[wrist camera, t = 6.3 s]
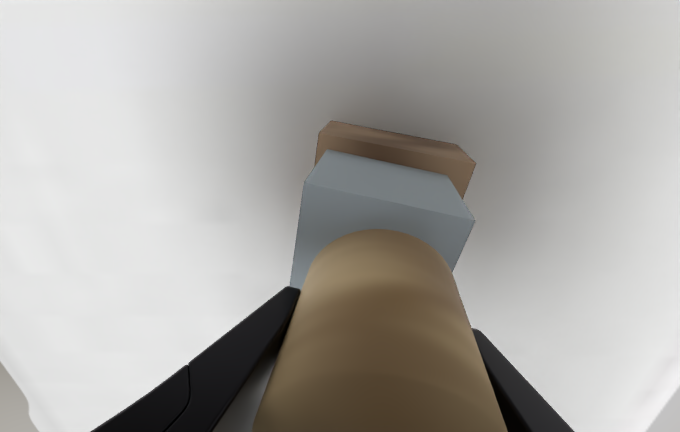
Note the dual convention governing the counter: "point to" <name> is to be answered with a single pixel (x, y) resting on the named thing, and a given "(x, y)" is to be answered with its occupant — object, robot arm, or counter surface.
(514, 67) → the counter surface
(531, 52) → the counter surface
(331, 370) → the tan wooden cylinder
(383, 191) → the blue-grey square block
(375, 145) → the walnut base block
